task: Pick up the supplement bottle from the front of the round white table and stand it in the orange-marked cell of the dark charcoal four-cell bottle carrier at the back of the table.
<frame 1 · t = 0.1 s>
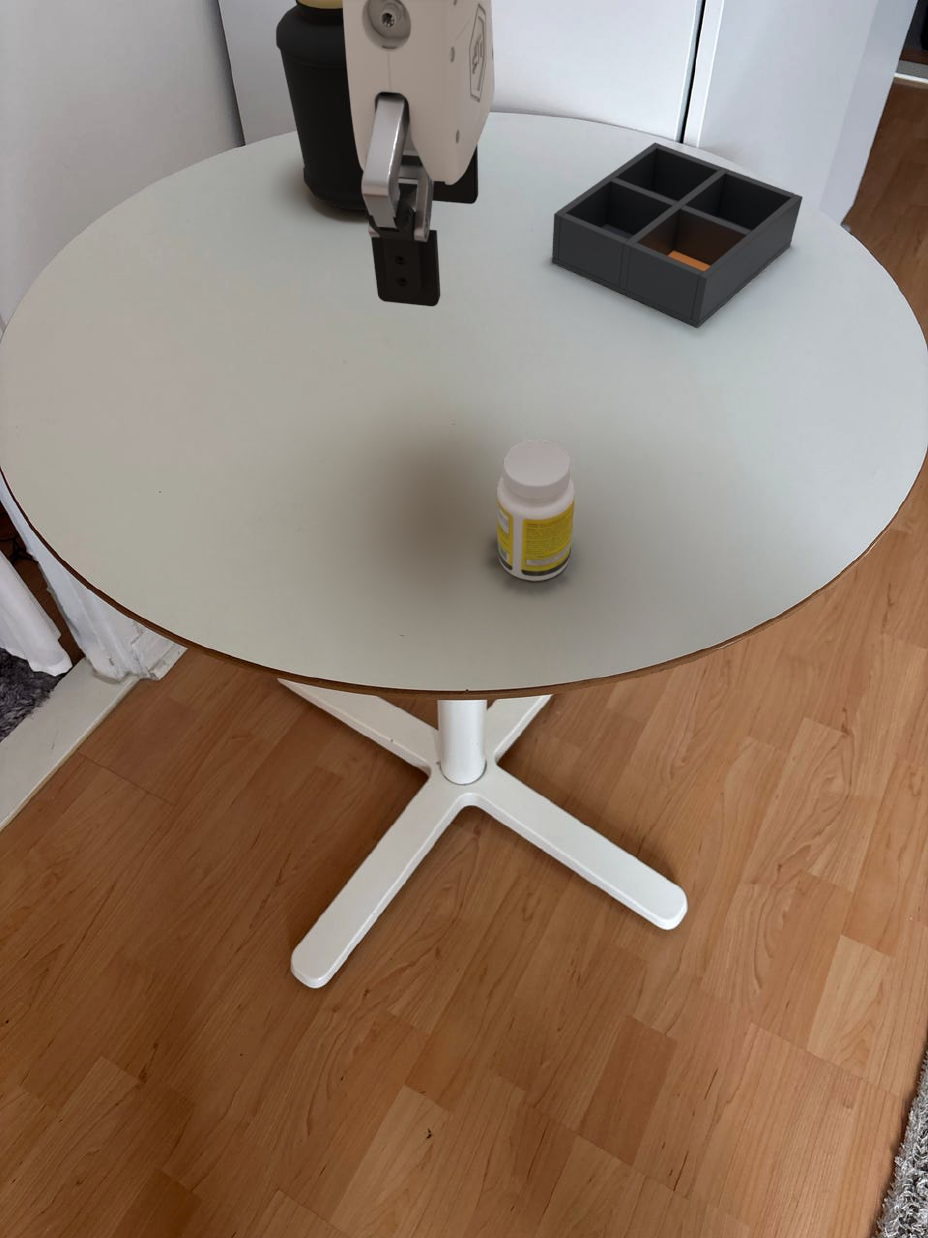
hand: (431, 247, 54), 19 cm above the table, tool pointing down, fingers open, 9 cm apart
container: (366, 190, 93), on the table
supplement bottle: (533, 557, 65), on the table
carrier: (671, 253, 85), on the table
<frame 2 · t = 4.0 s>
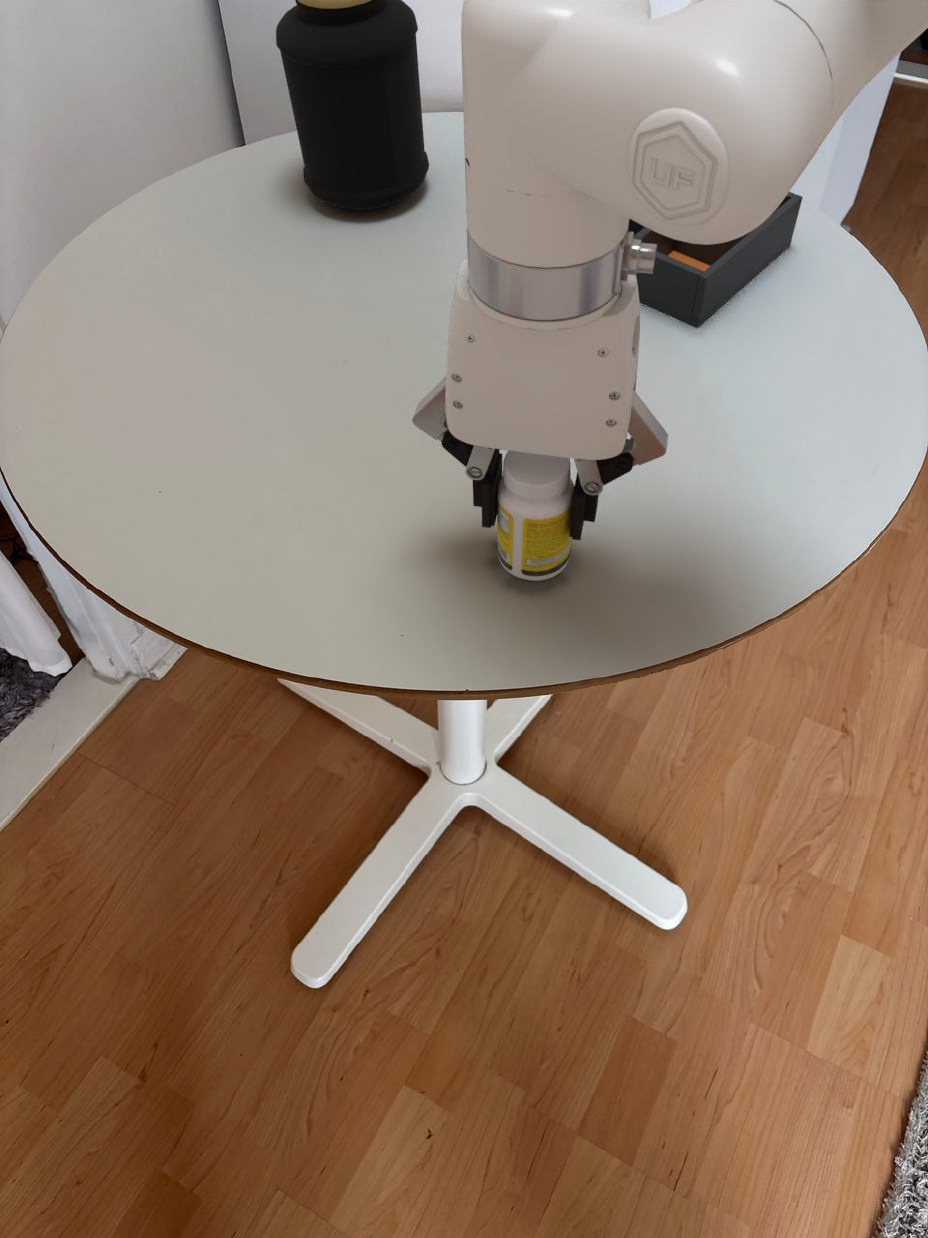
hand: (534, 515, 62), 4 cm above the table, tool pointing down, fingers closed on supplement bottle, 4 cm apart
supplement bottle: (533, 557, 65), on the table, touching gripper
everything else where it was.
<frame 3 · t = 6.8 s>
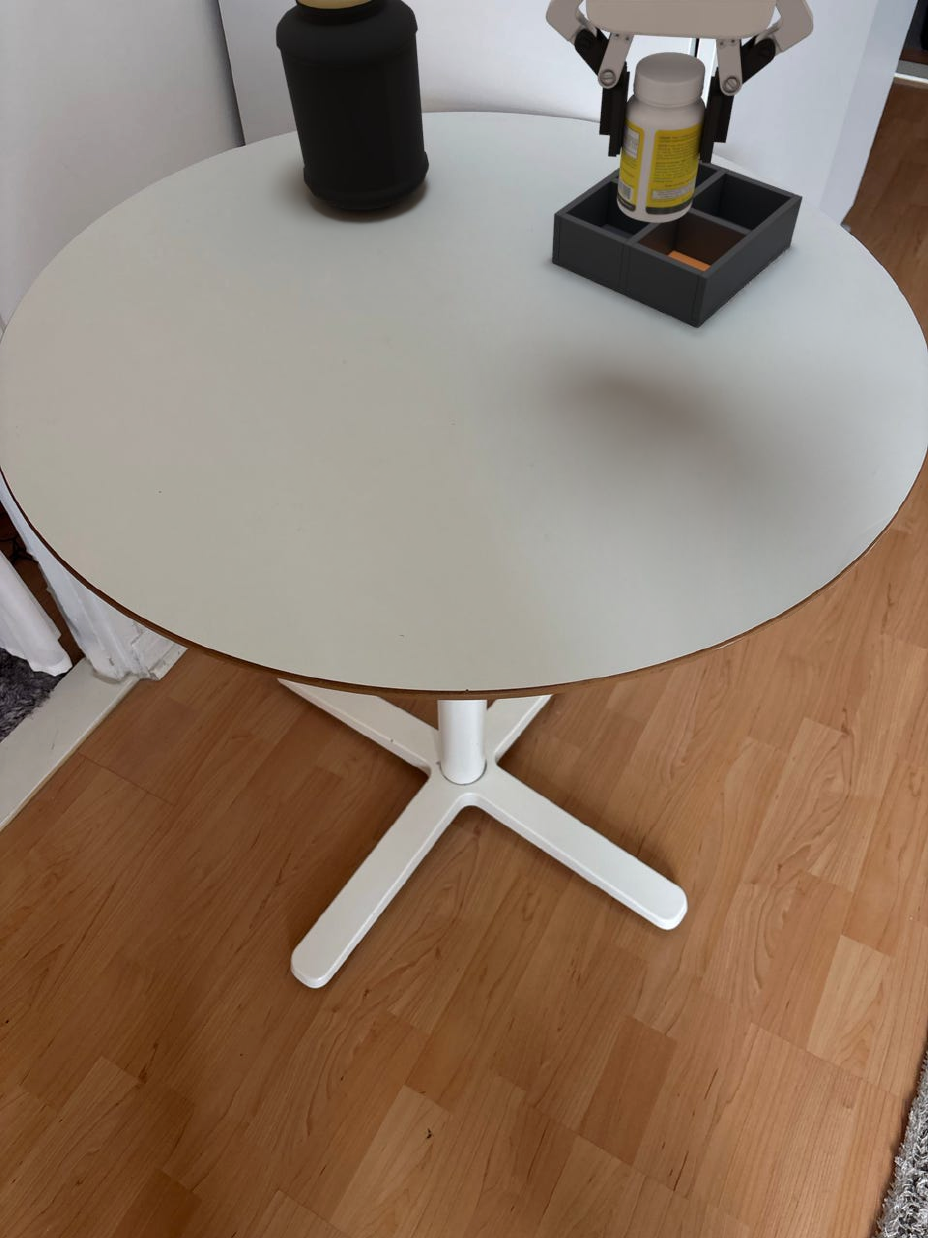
hand: (660, 145, 60), 18 cm above the table, tool pointing down, fingers closed on supplement bottle, 4 cm apart
supplement bottle: (653, 207, 63), point 14 cm above the table, touching gripper
everything else where it was.
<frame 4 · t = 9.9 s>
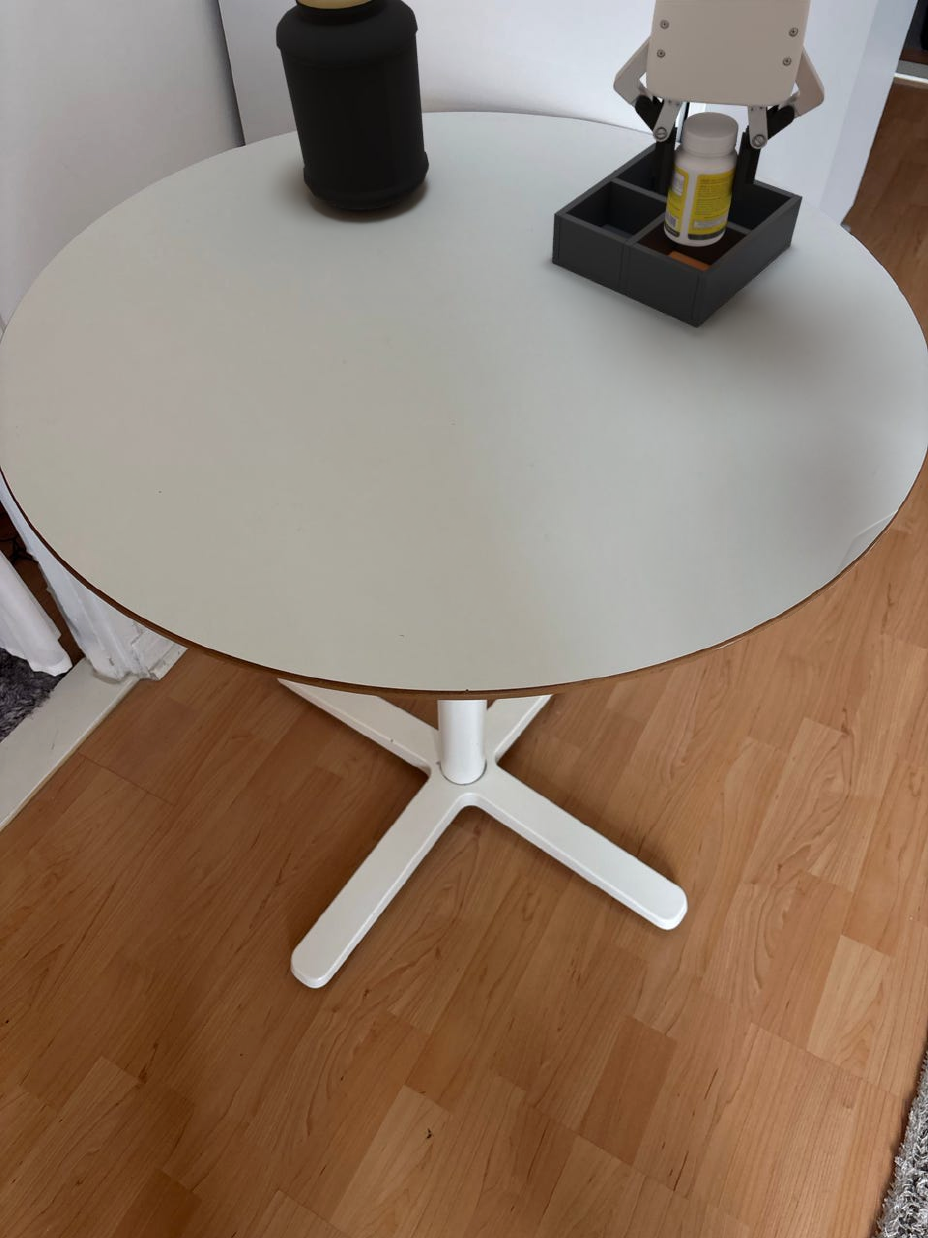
hand: (700, 185, 75), 9 cm above the table, tool pointing down, fingers closed on supplement bottle, 4 cm apart
supplement bottle: (692, 233, 78), point 5 cm above the table, touching gripper
everything else where it was.
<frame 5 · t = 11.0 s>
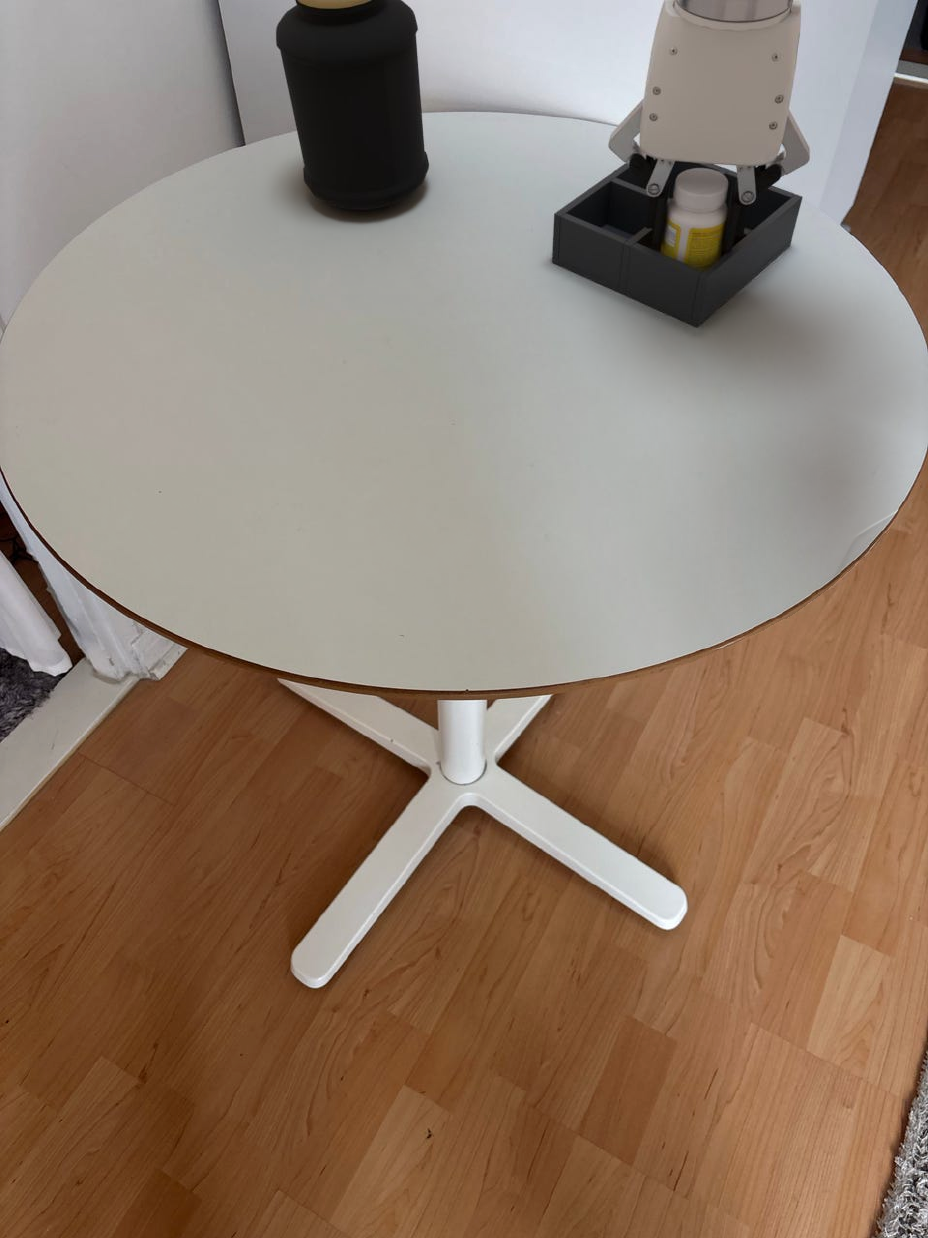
hand: (692, 236, 78), 5 cm above the table, tool pointing down, fingers closed on supplement bottle, 4 cm apart
supplement bottle: (685, 280, 81), point 1 cm above the table, touching gripper
everything else where it was.
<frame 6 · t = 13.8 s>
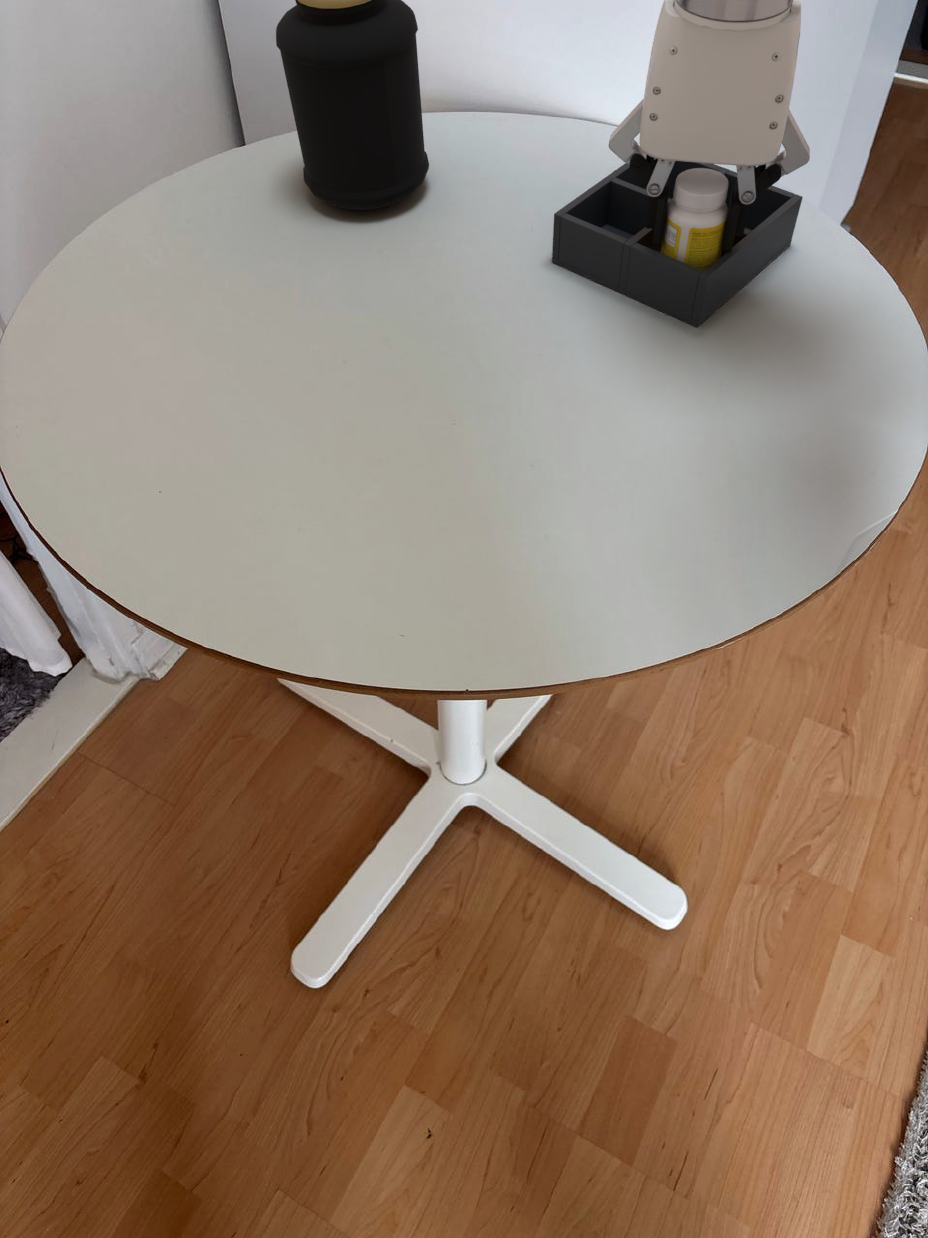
hand: (692, 236, 78), 5 cm above the table, tool pointing down, fingers closed on supplement bottle, 4 cm apart
supplement bottle: (685, 280, 81), point 1 cm above the table, touching gripper
everything else where it was.
when the fingers open (5 cm above the table, at t = 15.9 s): supplement bottle stays where it is, resting on carrier.
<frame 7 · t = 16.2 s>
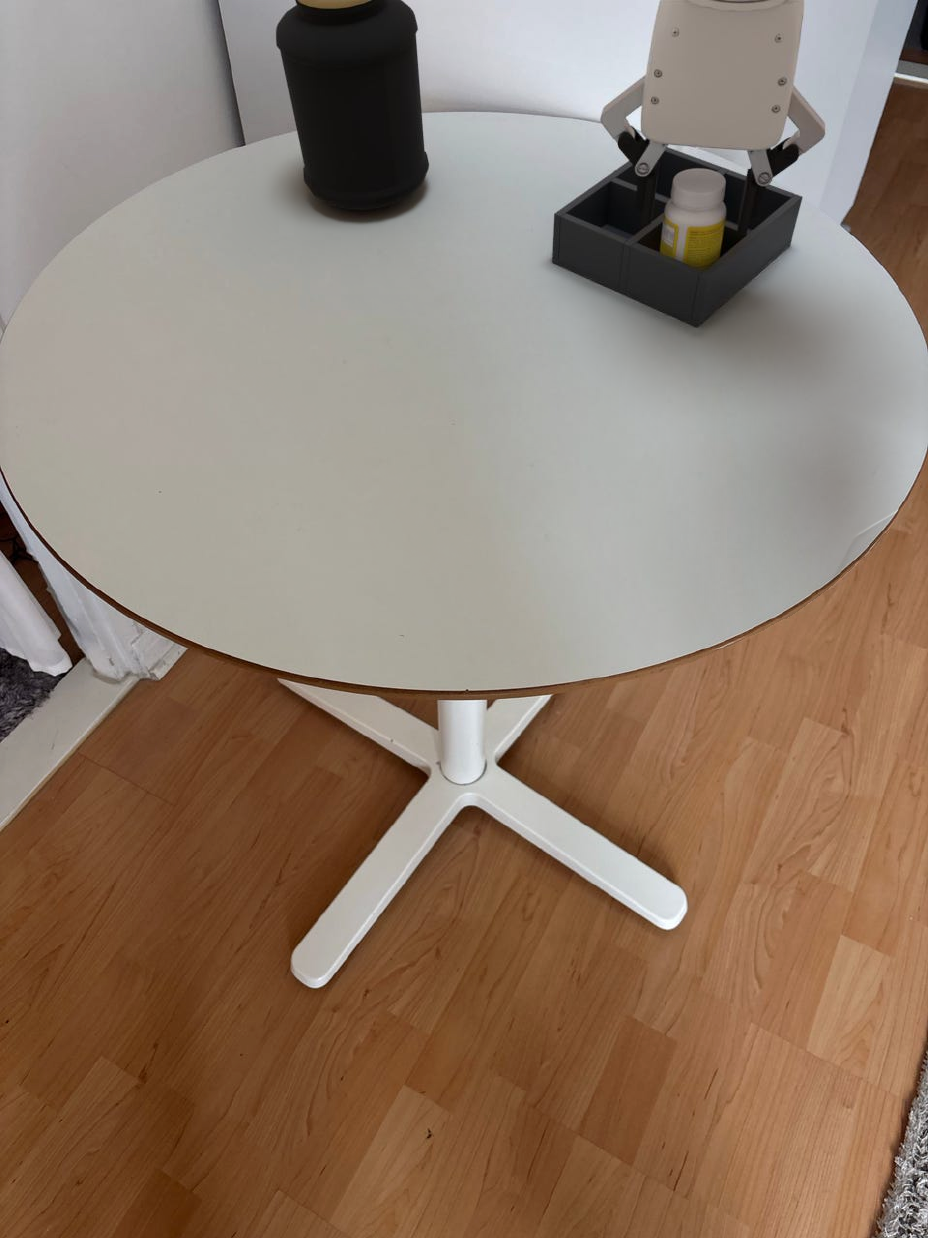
hand: (694, 219, 77), 6 cm above the table, tool pointing down, fingers open, 6 cm apart
supplement bottle: (685, 282, 81), point 1 cm above the table, touching carrier
everything else where it was.
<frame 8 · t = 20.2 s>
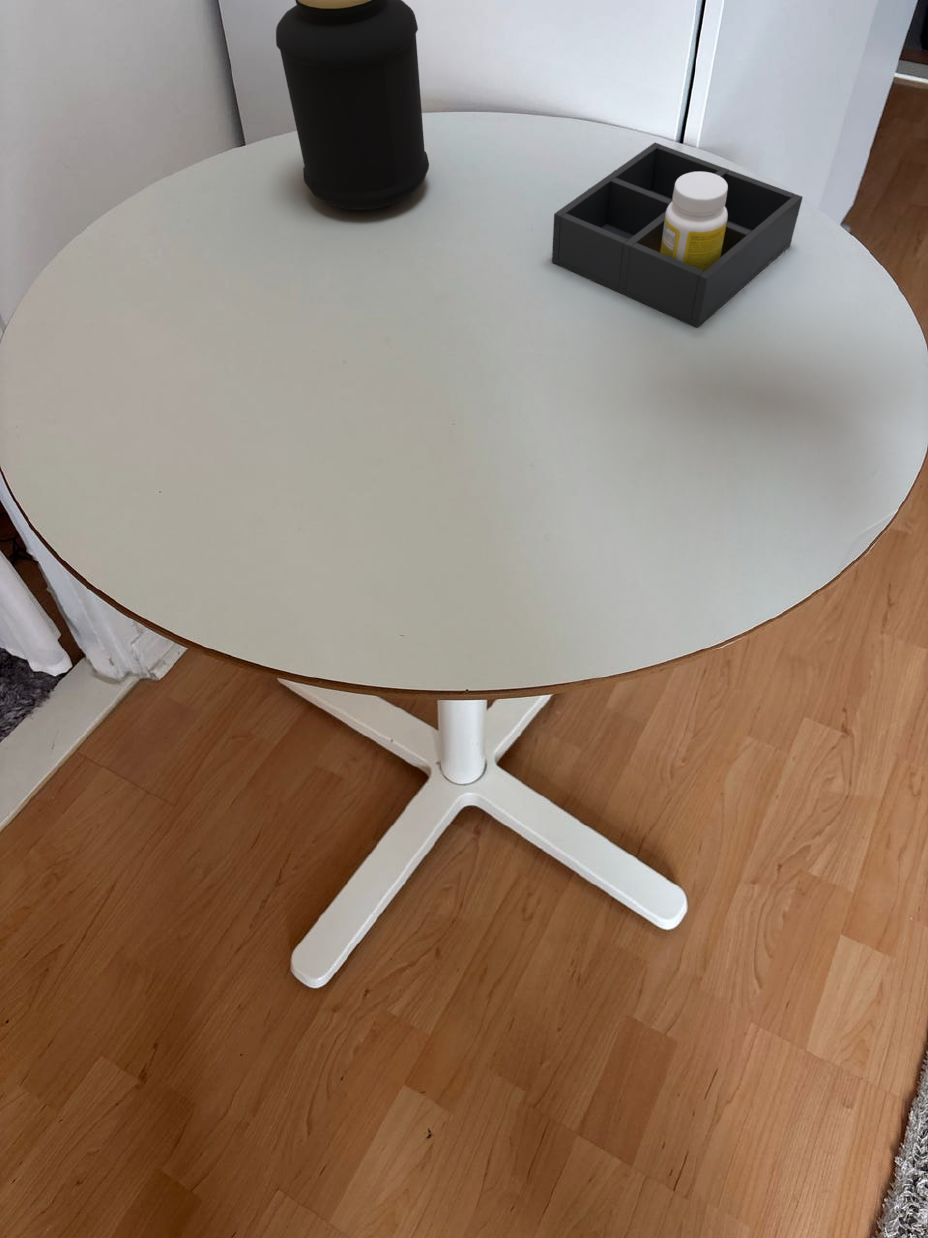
nothing on the table moved.
at the end: supplement bottle 0.3 cm from the target spot in the carrier, point 0.5 cm above the carrier's base; supplement bottle tilted 0° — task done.
